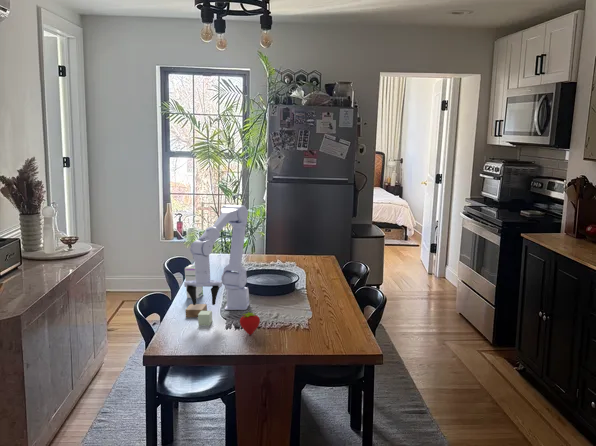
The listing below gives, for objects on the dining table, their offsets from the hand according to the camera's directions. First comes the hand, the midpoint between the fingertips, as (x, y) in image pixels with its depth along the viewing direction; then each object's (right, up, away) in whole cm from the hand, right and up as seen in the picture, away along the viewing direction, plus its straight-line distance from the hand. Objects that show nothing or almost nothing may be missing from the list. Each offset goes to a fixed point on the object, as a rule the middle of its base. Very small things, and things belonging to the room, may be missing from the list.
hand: (204, 304), depth 202 cm
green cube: (0, -8, +2) cm, 8 cm away
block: (-5, -6, +12) cm, 15 cm away
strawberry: (+19, -10, -11) cm, 24 cm away
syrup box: (-11, -2, +35) cm, 37 cm away
